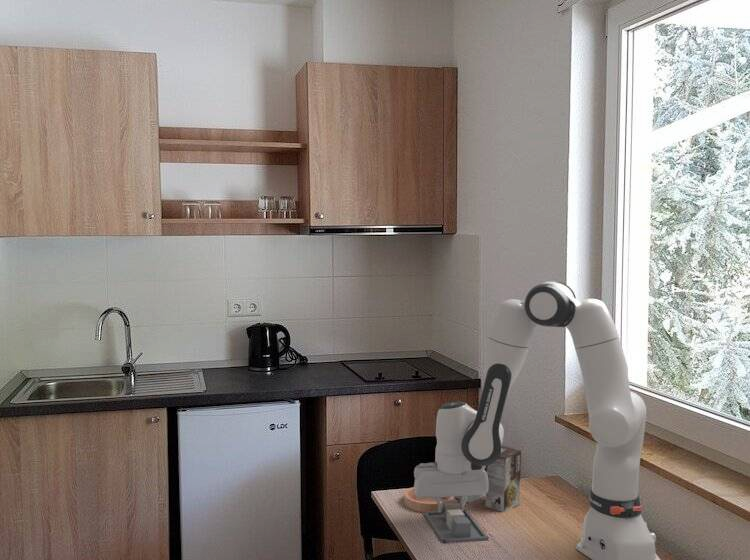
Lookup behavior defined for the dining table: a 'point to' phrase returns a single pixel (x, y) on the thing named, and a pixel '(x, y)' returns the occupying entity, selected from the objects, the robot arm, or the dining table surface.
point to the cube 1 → (450, 505)
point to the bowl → (421, 502)
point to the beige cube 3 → (453, 516)
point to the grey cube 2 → (461, 527)
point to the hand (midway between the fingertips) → (450, 511)
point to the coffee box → (504, 480)
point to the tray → (446, 534)
